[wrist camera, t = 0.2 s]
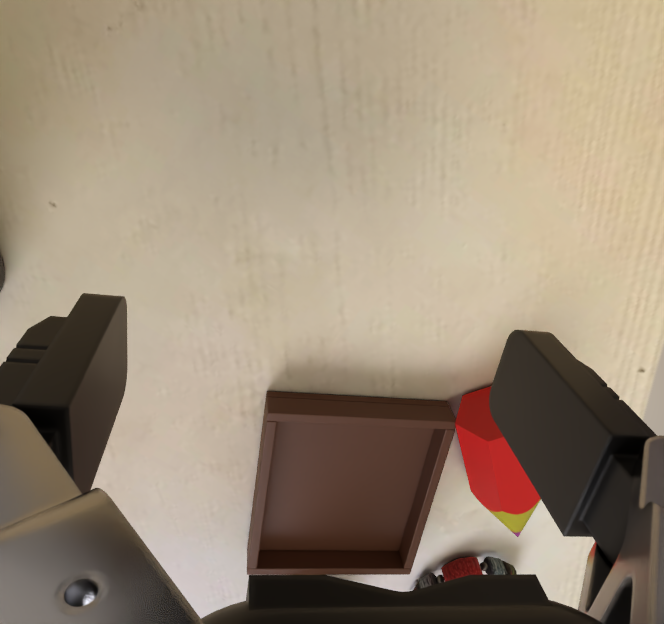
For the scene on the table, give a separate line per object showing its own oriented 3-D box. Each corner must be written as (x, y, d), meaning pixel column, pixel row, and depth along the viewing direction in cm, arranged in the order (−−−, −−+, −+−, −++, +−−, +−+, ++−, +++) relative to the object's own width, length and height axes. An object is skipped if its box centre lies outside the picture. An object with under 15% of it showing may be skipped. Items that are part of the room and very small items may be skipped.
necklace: (506, 538, 41) (517, 563, 39) (520, 613, 47) (530, 638, 45) (402, 568, 41) (408, 594, 40) (428, 639, 48) (435, 664, 46)
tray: (266, 390, 33) (267, 412, 31) (447, 400, 35) (458, 422, 33) (247, 548, 38) (246, 575, 37) (402, 549, 40) (410, 574, 39)
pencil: (473, 523, 40) (496, 574, 37) (444, 401, 34) (467, 448, 31) (537, 503, 40) (566, 552, 37) (518, 377, 34) (551, 421, 31)
